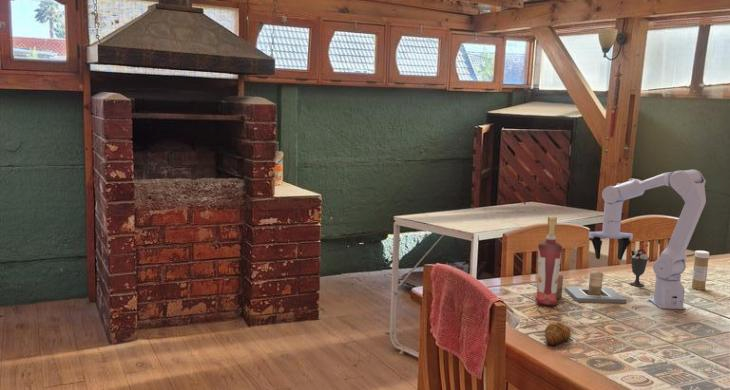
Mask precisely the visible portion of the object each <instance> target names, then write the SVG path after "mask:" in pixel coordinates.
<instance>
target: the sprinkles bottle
mask: <svg viewBox="0 0 730 390" xmlns="http://www.w3.org/2000/svg"><path fill="white" fill-rule="evenodd" d="M709 259H710V252H709V251H706V250H701V249H700V250H695V252H694V261H693V262H694V264H693V271H692V277H691V278H692V282H691V288H692V289H693V290H699V291H703V290H705V289H706V282H707V276H708V269H709V268H708V267H709V266H708V265H709Z"/></svg>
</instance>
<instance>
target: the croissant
mask: <svg viewBox="0 0 730 390" xmlns="http://www.w3.org/2000/svg"><path fill="white" fill-rule="evenodd" d="M571 333H572V332H571V329H570V328H569V326H567V325H565V324H563V323H561V322H559V321H557V322H552V323H551V322H550V323H548V325H547V326H546V327H545V330H544V336H545V337H544V338H545V340H546V344H547V345H548V346H557V345H559V344H561V343H564V342H566V341H567V340H568V338H569V337H571Z"/></svg>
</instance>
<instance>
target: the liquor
mask: <svg viewBox="0 0 730 390" xmlns="http://www.w3.org/2000/svg"><path fill="white" fill-rule="evenodd" d="M557 218H558V217H557V216H547V231H546V232H547V233H546V237H545V241H542V242H540V243H539V244H538V245H537V284H536V285H537V287H536V296H535V298H534V299H535V301H536V303H537V304H539V305H541V306H543V307H552V306H554V305H555V304H557V303H558V298H556V295H557V285H558V277H559V274H560V269H561V262H562V253H563V246H562V245H561V244H560V243H559V242H557V241H556V240H557V239H556V237H557V236H556V227H557V221H558V219H557Z"/></svg>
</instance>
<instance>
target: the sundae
mask: <svg viewBox="0 0 730 390" xmlns="http://www.w3.org/2000/svg"><path fill="white" fill-rule="evenodd" d="M646 247H648V245H647V244H645V245H644V246H643V247H642V248H640V249H637V250H635V251H634V250H631V255H629V258H630V260H631V272H632V273H633V274H634V275H635V280H634V282H629V285H630V286H632V287H637V288H641V287H642V288H643V287H645V284H643V283H641V282H640V276H642V275H643V274H644V273H645V271H646V267H647V264H648V262H649V261H650V260H651V259H650V257H649V256H648V254H647V251H646V250H645V248H646Z"/></svg>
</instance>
